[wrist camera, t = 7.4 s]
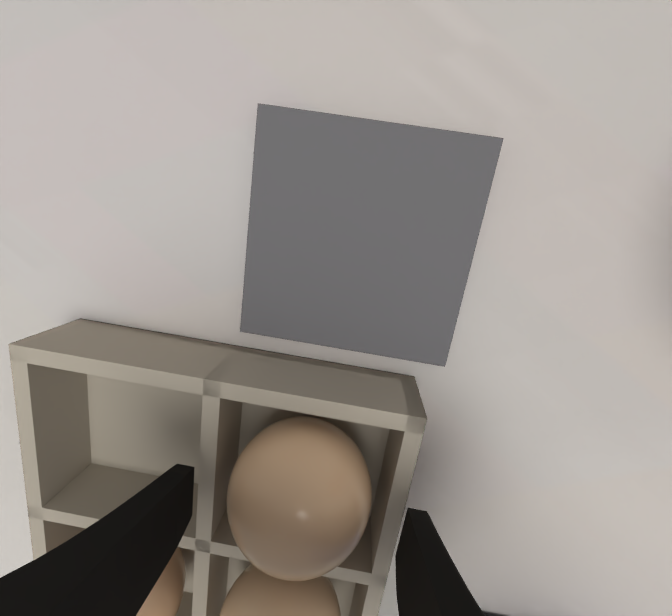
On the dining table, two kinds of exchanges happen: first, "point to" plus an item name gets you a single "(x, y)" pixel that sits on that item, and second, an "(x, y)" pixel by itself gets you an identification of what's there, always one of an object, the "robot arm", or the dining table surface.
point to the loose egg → (299, 498)
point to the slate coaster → (362, 231)
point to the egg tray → (198, 440)
